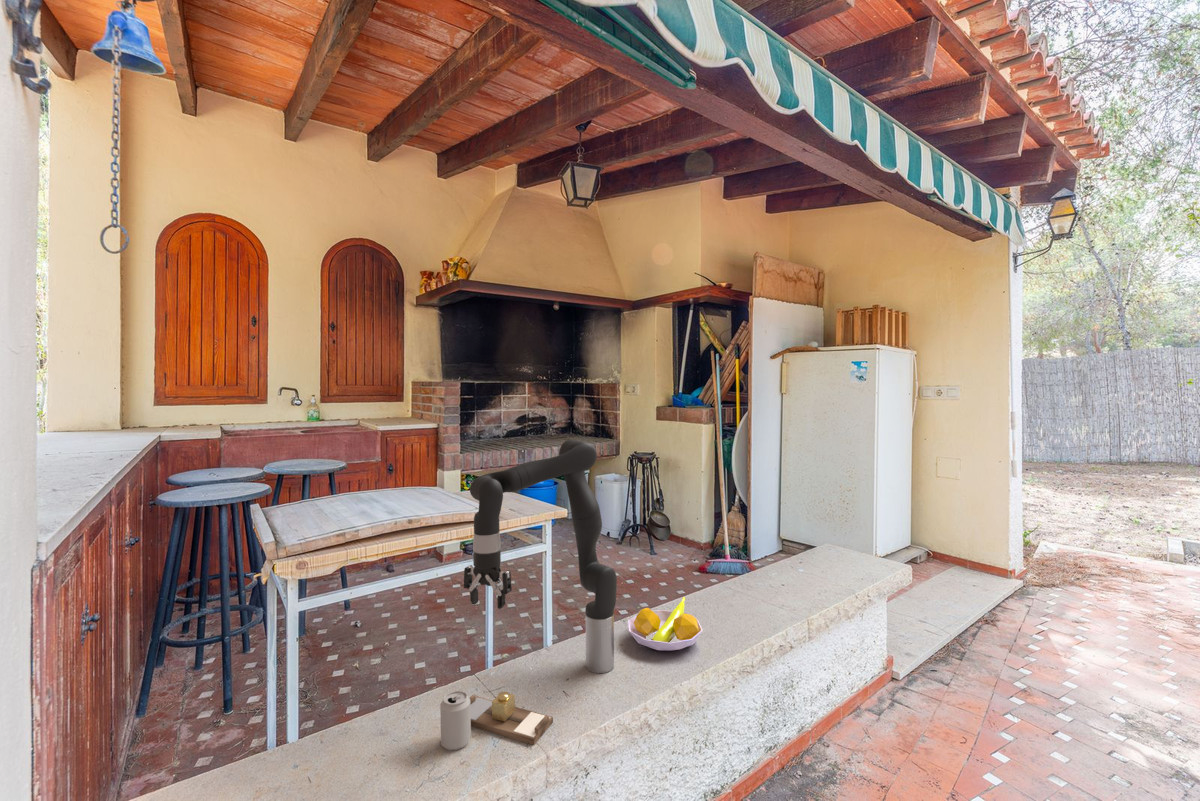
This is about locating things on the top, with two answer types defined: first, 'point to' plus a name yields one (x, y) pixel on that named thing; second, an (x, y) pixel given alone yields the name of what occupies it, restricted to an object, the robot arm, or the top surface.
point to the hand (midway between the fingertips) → (487, 605)
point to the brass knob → (503, 706)
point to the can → (455, 720)
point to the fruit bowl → (665, 628)
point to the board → (509, 721)
